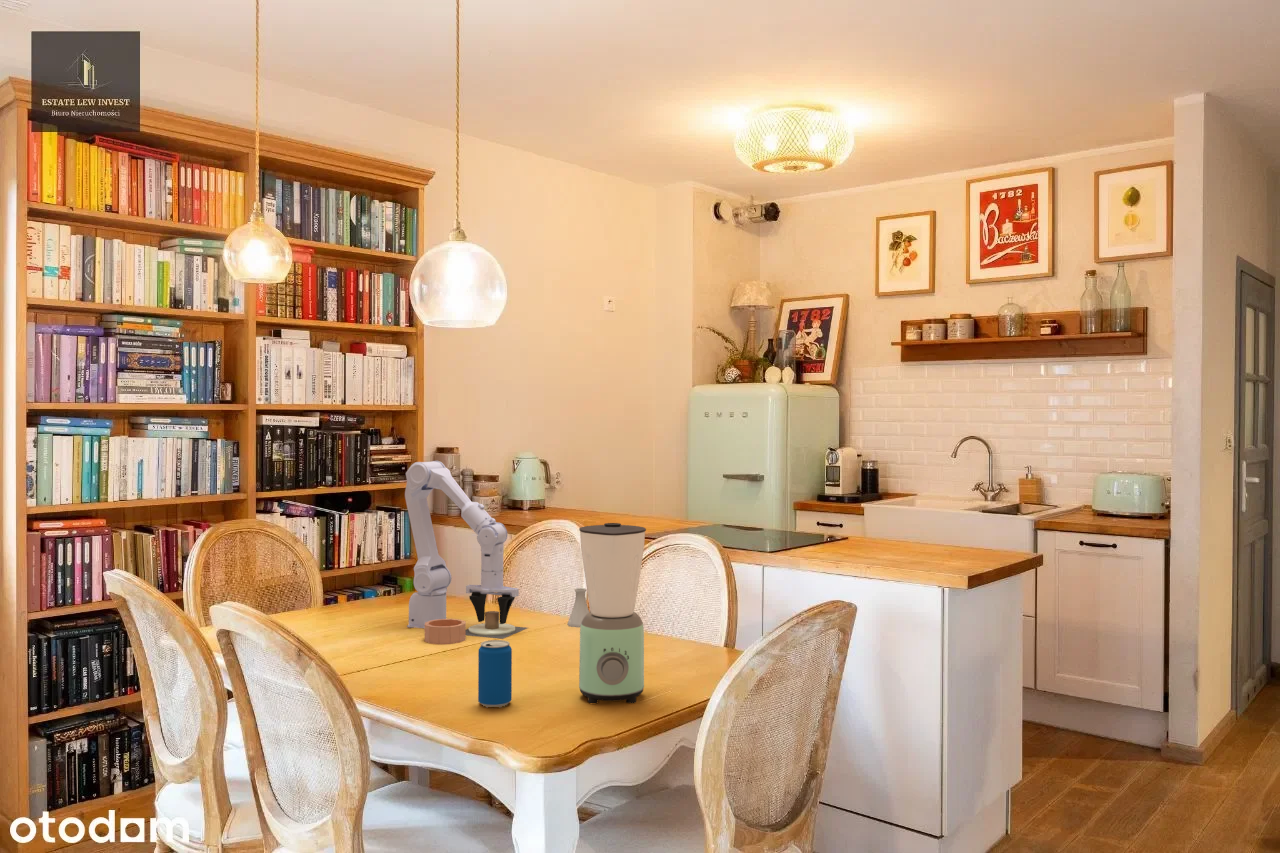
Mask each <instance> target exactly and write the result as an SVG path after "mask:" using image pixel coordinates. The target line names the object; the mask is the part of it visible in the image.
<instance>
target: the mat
mask: <svg viewBox="0 0 1280 853" xmlns="http://www.w3.org/2000/svg"><path fill="white" fill-rule="evenodd" d="M481 624H484V623H482V622H481ZM514 626H515V625H514ZM527 629H528V627H525V626H524V627H523V626H515V632H513V633H510V634H506V635H498V636H480V635H474V634H471V633H469V628H466V637H467V636H468V637H469V636H470V637H478V638H488V639H496V640H500V639H501V640H504V639H506V638H508V637H511V636H512V635H513V636H514V635H516V634H518V633H519V632H522V631H524V630H527Z"/></svg>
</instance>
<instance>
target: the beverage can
mask: <svg viewBox="0 0 1280 853" xmlns="http://www.w3.org/2000/svg"><path fill="white" fill-rule="evenodd" d="M512 656H513V649H512V647H511V646H510V642H509V641H508V640H504V639H501V640H500V639H494V640H493V639H492V640H490V639H489V640H485V641H482V642H480V647H479V648H478V662H477V664H478V666H477V667H478V668H477V670H478V671H477V672H478V673H477V674H478V676H477V678H478V680H477V681H478V682H477V684H478V686H477V690H478V691H477V692H478V693H477V694H478V696H477V700H478V704H481V705H483V706H482V707H484V706H486V707H485V708H488V707H499V708H503V707H502V706H504V707H506V706H508V704H509V703H510V702H512V694H513V693H512V690H513V687H512V685H513V684H512V681H513V680H512V675H513V674H512V672H513V671H512V670H513V668H512V664H513V663H512V659H513V658H512ZM505 705H506V706H505Z"/></svg>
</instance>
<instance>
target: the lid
mask: <svg viewBox="0 0 1280 853" xmlns="http://www.w3.org/2000/svg"><path fill="white" fill-rule="evenodd" d="M468 629H469V633H471V634H474V635H480V636H498V635H506V634H510V633H513V632H515V625H513V624H511V623H504V624H500V611H499V610H498V611H497V610H489V611H485V618H484V623H483V624H482V623H478V624H474V625H471V626H469V627H468Z"/></svg>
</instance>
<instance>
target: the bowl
mask: <svg viewBox="0 0 1280 853" xmlns="http://www.w3.org/2000/svg"><path fill="white" fill-rule="evenodd" d="M466 625H467V624H466V620H462V619H459V618H458V619H457V618H446V619H437V620H431V621H428V622H425V628H424V642H426V643H427V644H433V645H451V644H452V645H453V644H459V643H462V642H464V641H466V640H467V639H466V637H467V635H466V629H467V626H466Z"/></svg>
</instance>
